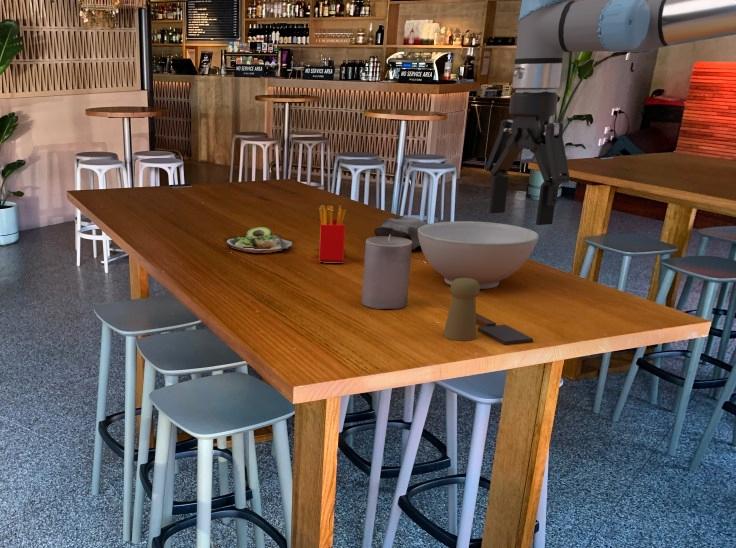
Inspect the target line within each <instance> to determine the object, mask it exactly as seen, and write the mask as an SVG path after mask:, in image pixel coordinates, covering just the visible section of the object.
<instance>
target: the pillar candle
mask: <svg viewBox="0 0 736 548" xmlns="http://www.w3.org/2000/svg"><path fill="white" fill-rule="evenodd" d="M390 235H391V234H390ZM390 235H389V236H380V237H378V236H371V237H368V238H366V240H365V245H364V246H365V248H364V263H363V275H362V276H363V277H362V288H361V305H363V306H365V307H368V308H371V309H376V310H400V309H404V308H405V307H406V306H407V305H408V304H407V303H408V298H409V297H408V296H409V288H410V287H409V285H410V273H411V263H412V262H411V261H412V251H413V250H412V241H411V240H409V239H406V238H400V237H390Z"/></svg>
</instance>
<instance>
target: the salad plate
mask: <svg viewBox="0 0 736 548" xmlns="http://www.w3.org/2000/svg"><path fill="white" fill-rule="evenodd" d="M226 245H227V246H228V247H229V246H230V247H234V248H237V249H241V250H246V251H255V252H263V251H273V250H283V249H285V250H288V249H289V248H290V247H292V245H293V241H290V240H286V239H283V238H281V237H280V236H279V235H277V234H273V232H272V230H271V229H270V228H268V227H266V226H257V227H253V228H250V229H248V230H247V231H246V232H245V235H244V236H243V237H242V236H241V237H240V236H236V237H234V238H229V239H227V240H226ZM230 247H229V248H230ZM243 247H259V248H270V249H254V248H243ZM283 251H284V250H283Z"/></svg>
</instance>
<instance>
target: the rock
mask: <svg viewBox="0 0 736 548" xmlns="http://www.w3.org/2000/svg"><path fill="white" fill-rule="evenodd" d="M427 224H429V223H428V222H427V221H423V220H421V219H419V218H418V217H417V218H416V217H414V216H408V215H407V216H406V215H398V216H397V217H395V218H393V217H390V218H389V217H388V218H386V219H384V221H383V222H382V224H381V225H380V226H378V227H375V228H374V230H373V233H374V235H375V237H380V236H389V235H390V234H391V235H390V237H400V238H406V239H409V240H411V241H412V250H411V251H413V250H416V249H417V248H418V247H420V242H419V238H418V228H419V227H421V226H423V225H427Z"/></svg>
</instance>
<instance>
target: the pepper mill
mask: <svg viewBox="0 0 736 548" xmlns="http://www.w3.org/2000/svg"><path fill="white" fill-rule="evenodd" d="M449 290H450V293H451V295H452V297H451V301H450V306H449V310H448V314H447V318H446V321H445V326H444V328H443V337H445V338H446V339H449V340H453V341H459V342H467V341H468V342H469V341H473V340H476V338H477V324H476V313H477V308H476V307H477V306H476V305H477V304H476V303H477V302H476V301H477V300H476V299H477V296H478V295H479V293H480V292H481V291H480V290H481V289H480V285H479V283H478V281H476V280H474V279H470V278H458V279H455V280H454V281H453V282H452V284H451V285H450V289H449Z"/></svg>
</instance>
